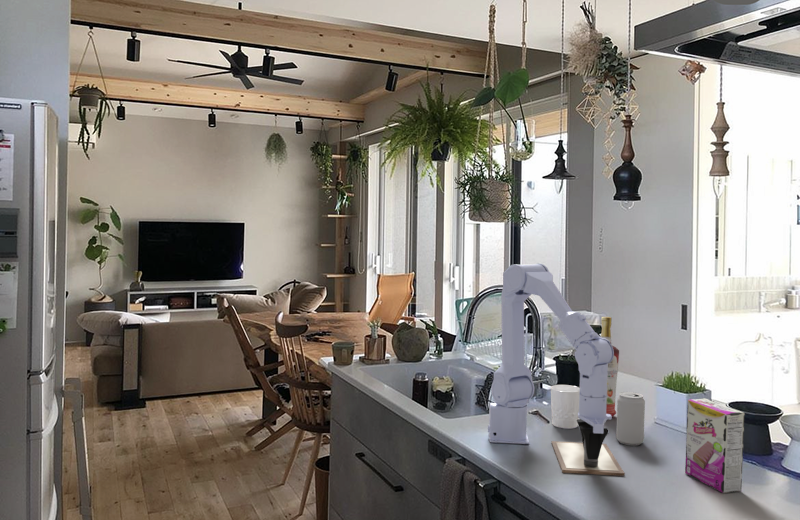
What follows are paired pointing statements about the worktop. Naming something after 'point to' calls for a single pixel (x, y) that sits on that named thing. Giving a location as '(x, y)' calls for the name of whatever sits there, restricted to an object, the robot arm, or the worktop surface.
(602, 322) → the liquor
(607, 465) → the writing board
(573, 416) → the white cup
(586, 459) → the grey yellow rounded cylinder
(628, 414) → the beverage can
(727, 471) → the candy bar box
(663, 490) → the worktop surface
